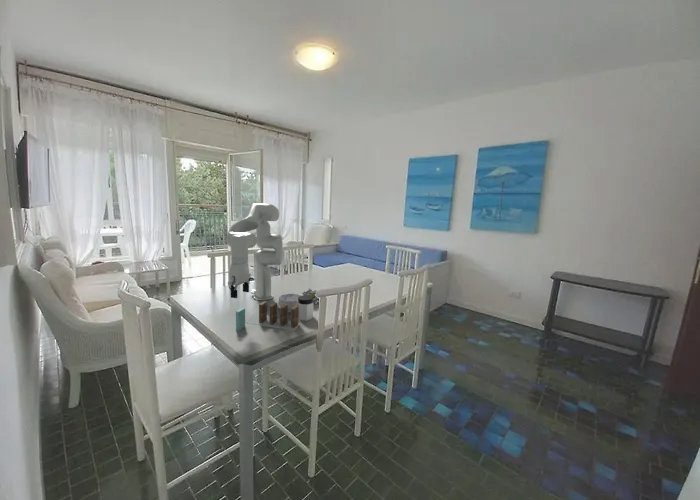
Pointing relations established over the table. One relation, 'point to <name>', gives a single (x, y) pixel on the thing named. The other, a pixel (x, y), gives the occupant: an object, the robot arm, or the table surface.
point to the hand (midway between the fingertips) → (240, 294)
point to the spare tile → (240, 319)
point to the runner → (255, 321)
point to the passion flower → (312, 293)
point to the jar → (305, 307)
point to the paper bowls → (289, 300)
